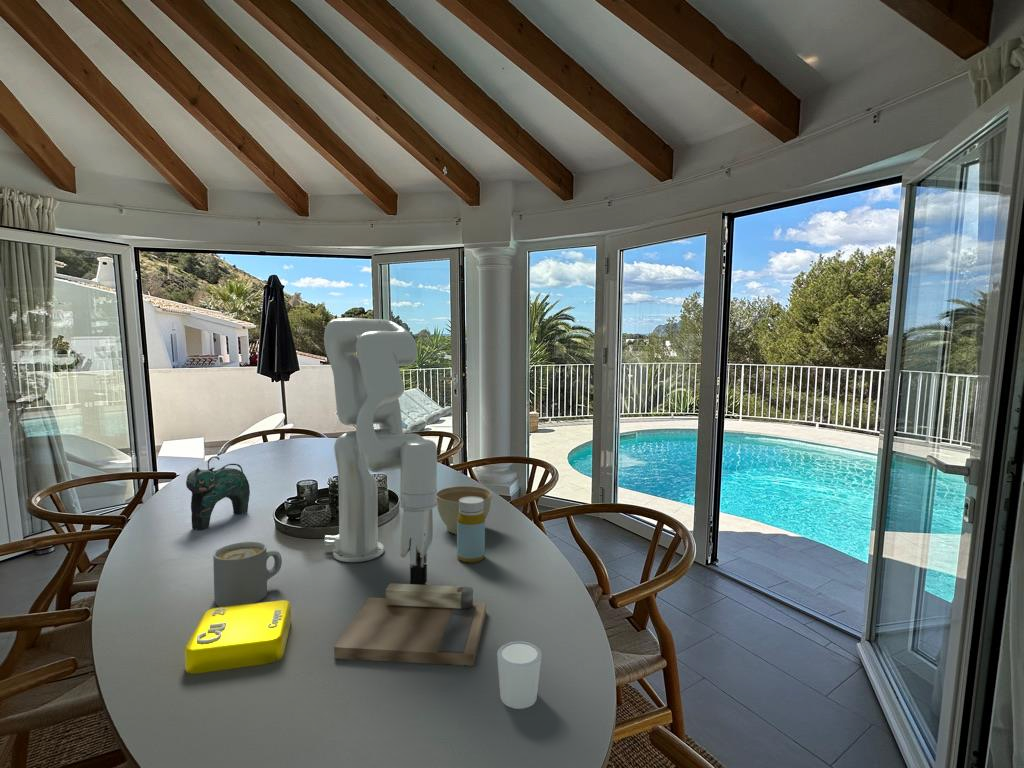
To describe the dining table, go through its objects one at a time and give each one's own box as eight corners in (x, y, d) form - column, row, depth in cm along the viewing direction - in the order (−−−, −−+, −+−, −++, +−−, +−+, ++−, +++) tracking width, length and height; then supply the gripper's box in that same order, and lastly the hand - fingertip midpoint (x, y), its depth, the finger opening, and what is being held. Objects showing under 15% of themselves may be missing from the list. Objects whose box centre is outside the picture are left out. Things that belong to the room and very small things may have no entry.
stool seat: (334, 658, 91) (334, 645, 91) (369, 606, 109) (369, 596, 109) (473, 666, 89) (473, 653, 89) (485, 612, 107) (486, 601, 107)
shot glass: (495, 683, 85) (495, 641, 84) (537, 681, 85) (538, 639, 85) (497, 712, 78) (498, 667, 77) (544, 710, 79) (544, 665, 78)
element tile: (282, 663, 90) (281, 636, 89) (181, 678, 86) (180, 649, 85) (292, 619, 104) (292, 595, 104) (206, 630, 100) (206, 605, 100)
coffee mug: (218, 612, 105) (217, 563, 105) (211, 593, 113) (210, 547, 113) (289, 594, 113) (288, 549, 113) (278, 578, 121) (277, 535, 121)
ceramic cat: (198, 532, 149) (196, 462, 148) (181, 530, 151) (179, 460, 150) (253, 512, 168) (252, 449, 166) (237, 509, 170) (236, 448, 169)
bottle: (480, 564, 130) (481, 504, 129) (453, 562, 132) (453, 502, 131) (487, 554, 137) (488, 497, 136) (461, 551, 139) (462, 495, 137)
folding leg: (473, 601, 107) (474, 586, 106) (471, 609, 103) (471, 594, 103) (390, 597, 108) (390, 583, 108) (385, 605, 105) (385, 590, 104)
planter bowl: (425, 534, 150) (425, 497, 149) (452, 518, 165) (452, 483, 164) (476, 543, 144) (476, 504, 143) (499, 525, 159) (500, 489, 158)
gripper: (409, 488, 119) (409, 568, 120) (391, 509, 104) (391, 599, 105) (442, 489, 119) (442, 569, 120) (429, 510, 104) (428, 601, 105)
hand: (418, 583), depth 113 cm, fingers closed
